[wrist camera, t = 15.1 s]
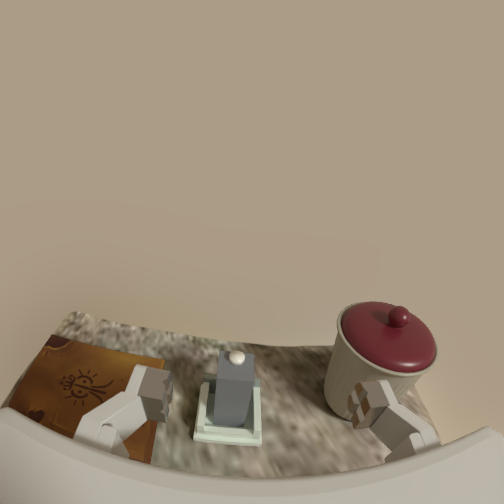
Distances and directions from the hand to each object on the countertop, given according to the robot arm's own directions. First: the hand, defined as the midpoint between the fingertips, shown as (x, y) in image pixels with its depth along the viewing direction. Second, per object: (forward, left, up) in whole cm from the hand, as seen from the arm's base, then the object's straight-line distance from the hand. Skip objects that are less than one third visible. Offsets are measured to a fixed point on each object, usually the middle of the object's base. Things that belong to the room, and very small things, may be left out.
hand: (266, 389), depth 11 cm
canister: (+23, +21, -30) cm, 43 cm away
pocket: (0, +17, -30) cm, 35 cm away
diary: (-22, +14, -31) cm, 40 cm away
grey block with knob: (0, +17, -29) cm, 34 cm away
